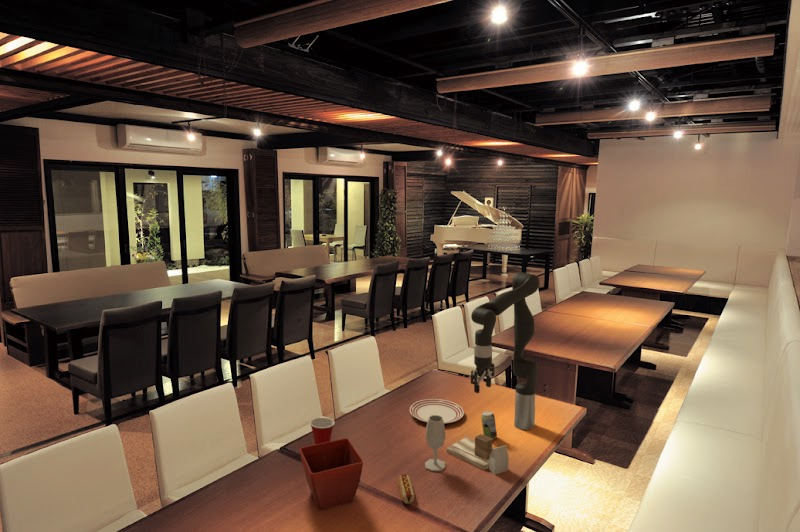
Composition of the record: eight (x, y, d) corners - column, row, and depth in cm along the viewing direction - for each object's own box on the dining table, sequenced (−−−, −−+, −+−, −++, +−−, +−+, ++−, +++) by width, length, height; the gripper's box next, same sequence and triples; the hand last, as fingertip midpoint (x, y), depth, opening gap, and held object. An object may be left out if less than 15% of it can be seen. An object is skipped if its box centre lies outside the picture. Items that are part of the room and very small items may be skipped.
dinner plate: (472, 412, 253) (472, 406, 252) (448, 433, 230) (448, 427, 229) (426, 400, 267) (426, 394, 267) (399, 419, 244) (399, 413, 244)
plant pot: (311, 519, 169) (310, 473, 166) (300, 489, 186) (298, 447, 184) (364, 505, 176) (364, 461, 174) (348, 477, 194) (347, 437, 191)
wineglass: (448, 462, 204) (448, 415, 201) (442, 473, 196) (443, 424, 193) (427, 459, 207) (428, 412, 204) (421, 470, 199) (422, 421, 196)
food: (416, 505, 176) (417, 492, 176) (401, 507, 176) (401, 494, 175) (410, 483, 190) (410, 471, 189) (396, 484, 189) (396, 472, 189)
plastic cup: (340, 446, 217) (339, 421, 215) (320, 456, 209) (320, 429, 208) (324, 438, 225) (324, 413, 223) (305, 447, 217) (304, 421, 215)
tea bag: (508, 470, 199) (509, 447, 197) (494, 474, 196) (495, 451, 194) (502, 466, 202) (503, 443, 201) (489, 470, 199) (489, 447, 198)
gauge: (477, 450, 211) (477, 432, 210) (492, 456, 205) (492, 438, 204) (471, 453, 208) (472, 435, 207) (486, 460, 203) (486, 442, 202)
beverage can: (496, 441, 222) (497, 416, 220) (480, 439, 224) (481, 415, 222) (496, 435, 228) (497, 410, 227) (480, 433, 230) (481, 409, 228)
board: (466, 441, 223) (466, 436, 222) (504, 457, 208) (504, 453, 208) (446, 452, 213) (446, 447, 213) (484, 470, 199) (484, 465, 198)
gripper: (485, 348, 218) (485, 382, 221) (466, 356, 208) (465, 392, 211) (499, 351, 213) (499, 387, 215) (480, 360, 203) (480, 397, 205)
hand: (482, 389), depth 213 cm, fingers open, 8 cm apart
